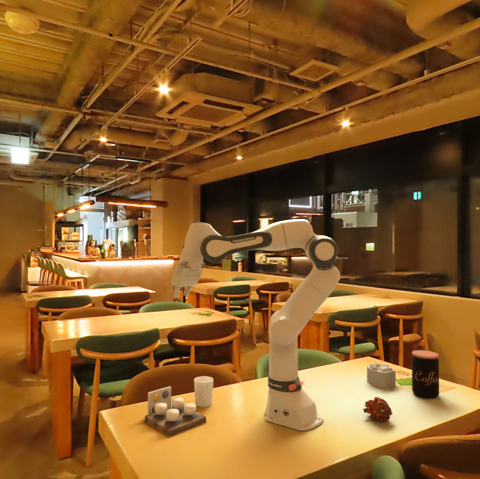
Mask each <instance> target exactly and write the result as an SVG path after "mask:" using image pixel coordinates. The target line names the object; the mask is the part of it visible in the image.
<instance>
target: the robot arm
mask: <svg viewBox="0 0 480 479" xmlns="http://www.w3.org/2000/svg"><path fill="white" fill-rule="evenodd" d="M294 248H295V249H297V248H300V249H301V250H302V252H303V254H304V256H305V257H306V258H307V259H308V260H309V261H310V262H311V263H312V268H311V270H310V272H309V274H308V275H307V276H306V277H304V279H303V280H302V282H300V284H299V285H297V287H296V289H294V291H293V292H292V293H291V295H290V297H288V299H287V300H286V301H285V303H284V304H283V305H282V307H281V308H280V309H279V310H276V311H275V312H273V314H272V315H271V316H270V319H269V325H268V333H269V343H268V344H269V346H268V350H269V352H268V376H267V386H268V394H267V402H266V407H265V411H264V415H265V421H266V422H268V423H273V424H276V425H280V426H284V427H286V428H289V429H293V430H295V431H296V430H297V431H301V432H302V431H304V432H305V431H309V430H313V429H315V428H316V427H317V428H318V427H319V426H321V424H322V423H323V422H324V417H323V415H320V414H318V410H317V409H318V408H317V406H316V403H315V401H314V400H313V399H312V398H311V397H310V396H309V395H308V393H306V392H305V390H304V389H303V385H304V383H305V381H303V380H302V381H301V380H300V377H299V353H298V352H299V351H298V350H299V349H298V347H299V346H298V336H299V335H300V334H301V332H302V331H303V330H304V328H305V327H306V326H307V324H308V323H309V321H310V320H311V318H312V317H313V316H314V314H315V313H316V312H317V311H318V309H319V308H320V307H321V306H322V305H323V304H324V302H325V301H326V300H327V298H328V297H330V295H331V294H332V292H333V291H334V290H335V288H336V286H337V285H338V283H339V282H340V279H341V272H340V270H339V269H338V268H337V267H336V265H337V259H338V253H339V252H338V251H339V248H338V245H337V243H336V241H335V240H334V239H333V238H331V237H330V236H329V237H328V236H326V235H322V234H321V235H319V234H316V233H315V232H314V229H313V226H312V224H311V222H310V221H309V220H307V219H296V218H295V219H287V220H281V221H277V222H273V223H270V224H267V225H265V226H263V227H261V228H259V229H257V230H255V231H252V232H247V233H244V234H238V235H232V236H222V235H221V234H220V233H218V231H217V230H215V228H213V227H212V225H211V224H210V223H207V222H199V221H196V222H193V223H191V224H190V225H189V228H188V230H187V233H186V236H185V238H184V247H183V249H181V253H180V257H179V261H178V265H177V266H175V268H174V270H173V273H172V275H171V276H172V277H171V280H170V285H171V286H173V288H174V293H173V297H174V298H177V299H178V298H180V297H181V289H182V288H183V287H185V290H183V293H182V294H183V296H186V297H189V294H190V292H191V290H192V289H193V286H196V285H197V284H198V283H199V282H200V281H199V280H200V278H201V276H202V272H203V269H204V268H205V267H206V266H205V265H206V263H205V261H207V262H210V263H218V262H221V261H223V260H225V259H226V258H228V256H230V255H234V254H239V253H243V252H249V251H254V250H255V251H256V250H257V251H258V250H259V251H266V252H267V251H269V252H273V251H285V250H290V249H294ZM204 260H205V261H204Z"/></svg>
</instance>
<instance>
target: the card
mask: <svg viewBox="0 0 480 479" xmlns="http://www.w3.org/2000/svg"><path fill="white" fill-rule="evenodd" d="M157 403H166V404H167V408H170V407H172V386H170V385H169V386H167V387H163V388H158V389H155V390H153V391H152V390H151V391H149V392H147V415H149V414H152V413H155V404H157Z"/></svg>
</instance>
